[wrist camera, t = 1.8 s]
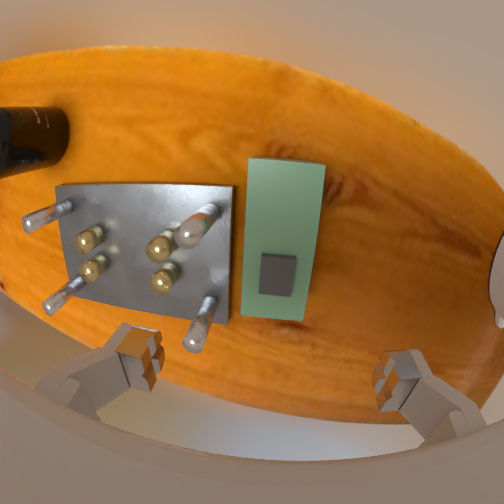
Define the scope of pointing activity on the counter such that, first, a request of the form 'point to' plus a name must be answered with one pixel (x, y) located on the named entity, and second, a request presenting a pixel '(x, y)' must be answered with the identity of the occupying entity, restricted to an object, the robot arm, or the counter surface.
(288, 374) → the counter surface
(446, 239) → the counter surface
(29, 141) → the supplement bottle
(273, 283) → the green rectangular block
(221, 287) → the chassis
